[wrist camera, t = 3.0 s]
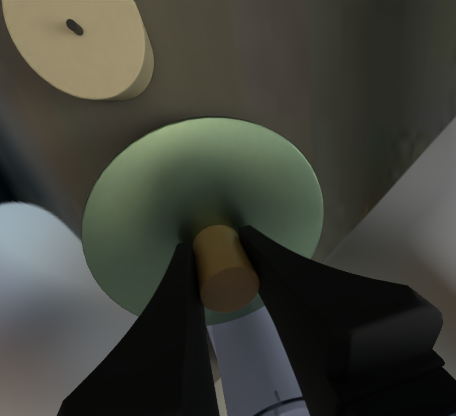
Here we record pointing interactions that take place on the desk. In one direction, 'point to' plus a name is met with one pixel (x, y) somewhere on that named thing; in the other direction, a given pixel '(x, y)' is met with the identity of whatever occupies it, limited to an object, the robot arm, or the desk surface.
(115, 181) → the tin lid
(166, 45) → the desk surface
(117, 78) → the candle
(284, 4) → the desk surface
